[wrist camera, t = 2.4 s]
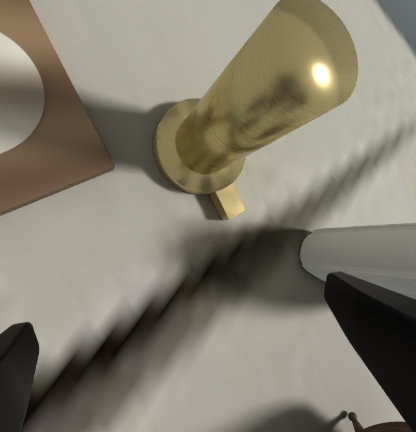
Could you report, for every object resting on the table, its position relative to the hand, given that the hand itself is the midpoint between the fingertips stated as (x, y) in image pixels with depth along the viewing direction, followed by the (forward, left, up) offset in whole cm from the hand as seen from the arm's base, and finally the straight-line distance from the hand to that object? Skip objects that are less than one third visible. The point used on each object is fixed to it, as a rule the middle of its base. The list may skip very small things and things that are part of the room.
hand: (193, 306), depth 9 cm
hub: (+5, -8, -12) cm, 15 cm away
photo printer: (-9, -16, -12) cm, 22 cm away
